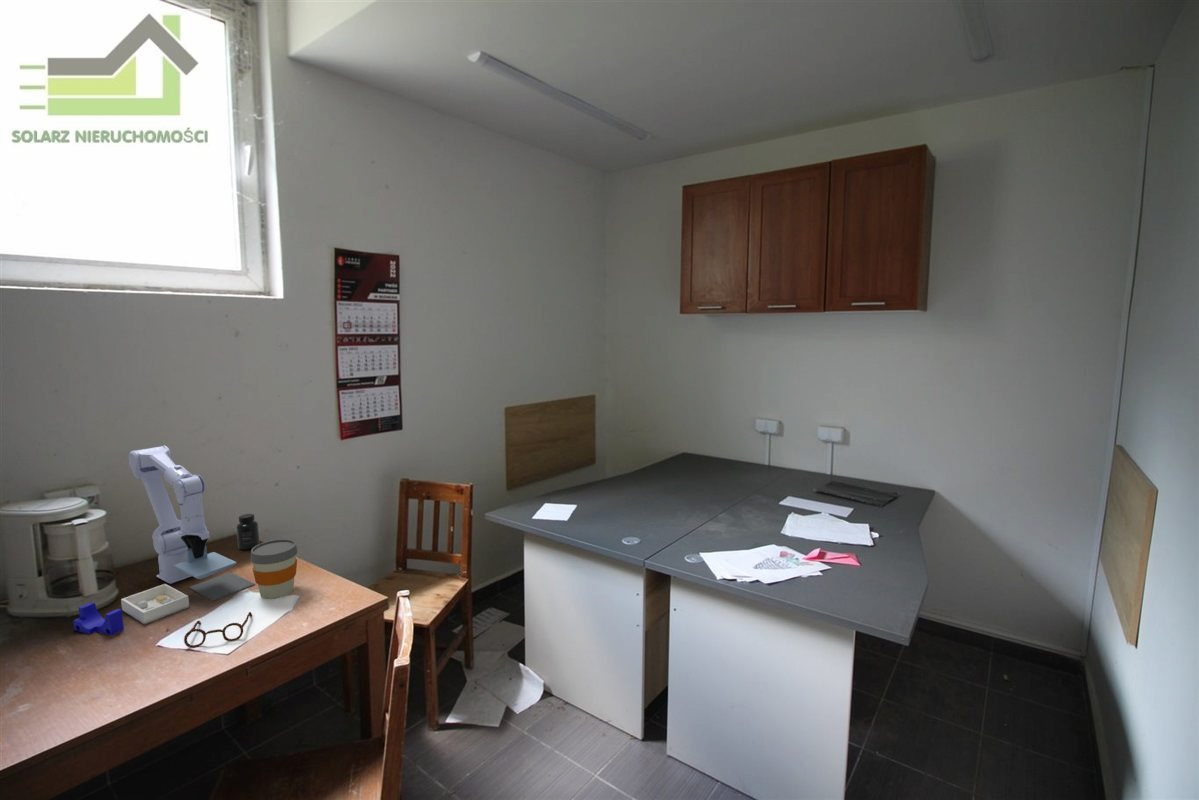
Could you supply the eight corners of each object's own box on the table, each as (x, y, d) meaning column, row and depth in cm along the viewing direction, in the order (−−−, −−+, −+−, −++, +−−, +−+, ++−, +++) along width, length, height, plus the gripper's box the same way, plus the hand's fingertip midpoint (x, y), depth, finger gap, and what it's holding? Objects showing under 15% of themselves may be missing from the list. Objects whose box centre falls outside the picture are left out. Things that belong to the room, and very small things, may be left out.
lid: (174, 569, 170) (172, 552, 169) (214, 556, 179) (212, 540, 178) (197, 581, 162) (195, 563, 162) (237, 567, 172) (235, 550, 171)
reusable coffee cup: (303, 580, 181) (300, 537, 179) (295, 599, 169) (292, 553, 167) (259, 585, 177) (256, 541, 175) (248, 605, 165) (244, 557, 163)
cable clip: (74, 630, 151) (72, 610, 150) (93, 622, 155) (91, 602, 154) (105, 638, 147) (102, 618, 146) (123, 629, 151) (121, 609, 151)
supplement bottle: (264, 543, 208) (261, 513, 207) (251, 550, 202) (248, 519, 200) (247, 542, 209) (244, 512, 207) (233, 549, 202) (230, 518, 201)
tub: (122, 610, 161) (120, 599, 160) (166, 594, 170) (165, 583, 170) (144, 624, 154) (143, 612, 153) (189, 606, 163) (188, 595, 163)
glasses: (184, 650, 143) (182, 633, 143) (199, 624, 155) (197, 607, 155) (243, 640, 148) (241, 623, 147) (253, 616, 160) (252, 600, 159)
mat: (189, 588, 174) (189, 586, 174) (229, 573, 185) (229, 572, 184) (214, 601, 167) (214, 599, 167) (255, 584, 177) (254, 583, 177)
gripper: (166, 515, 171) (171, 556, 173) (189, 523, 164) (194, 566, 166) (192, 508, 177) (197, 548, 179) (215, 515, 170) (219, 557, 172)
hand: (197, 556), depth 173 cm, fingers closed on lid
